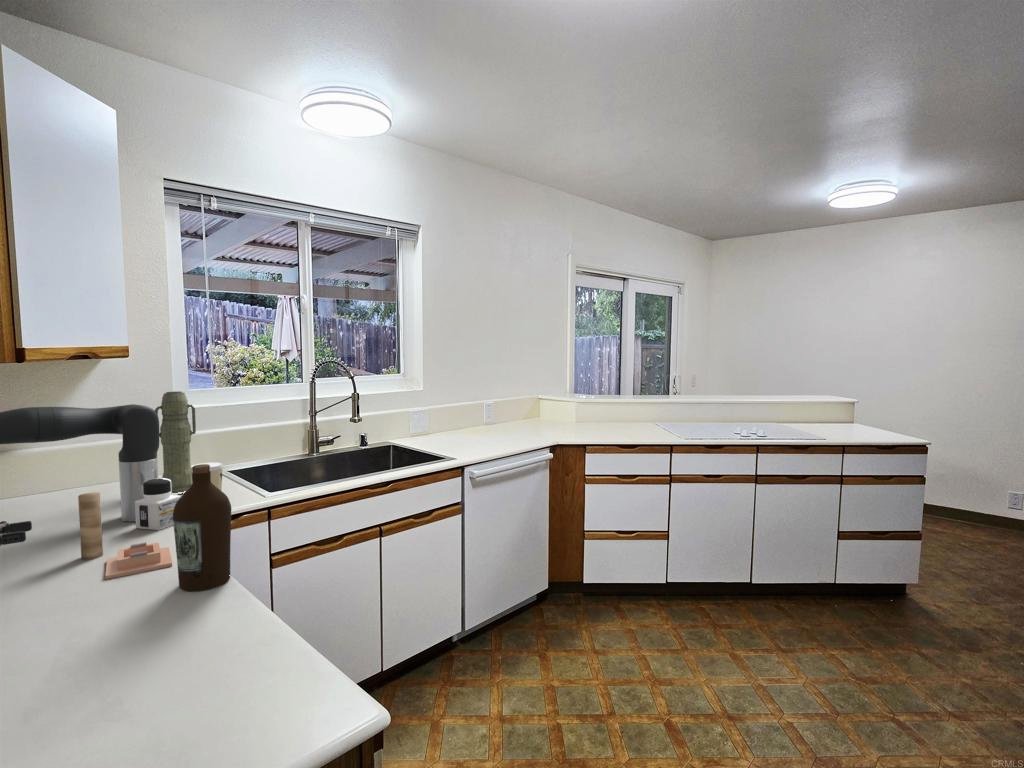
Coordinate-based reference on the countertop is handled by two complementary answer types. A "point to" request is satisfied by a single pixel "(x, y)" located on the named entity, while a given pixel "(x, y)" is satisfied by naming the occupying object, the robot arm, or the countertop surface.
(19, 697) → the countertop surface
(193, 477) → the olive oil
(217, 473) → the coffee cup
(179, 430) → the thermos
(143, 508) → the container
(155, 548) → the clip base
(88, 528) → the tall wooden cylinder
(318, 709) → the countertop surface
